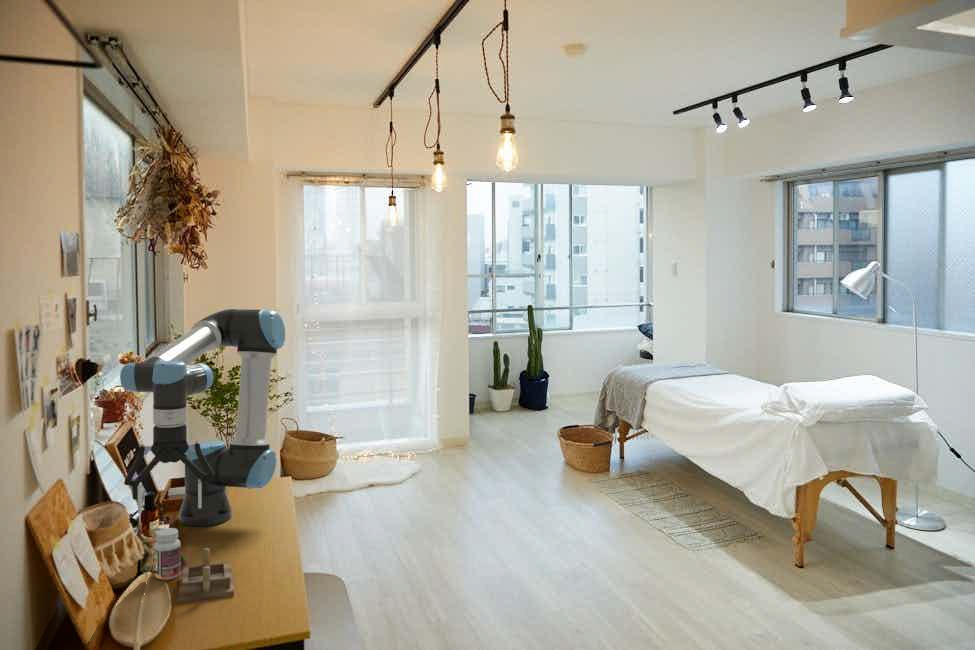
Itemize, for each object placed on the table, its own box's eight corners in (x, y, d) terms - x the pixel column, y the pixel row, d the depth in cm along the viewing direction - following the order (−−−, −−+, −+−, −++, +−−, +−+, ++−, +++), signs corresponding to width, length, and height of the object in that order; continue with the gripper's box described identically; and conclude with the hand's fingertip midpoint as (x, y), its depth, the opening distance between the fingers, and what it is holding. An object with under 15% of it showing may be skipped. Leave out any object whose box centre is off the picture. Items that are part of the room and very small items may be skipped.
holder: (180, 578, 180) (180, 550, 179) (231, 572, 184) (231, 545, 184) (178, 603, 167) (178, 572, 166) (233, 596, 171) (233, 566, 170)
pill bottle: (186, 572, 184) (186, 528, 183) (169, 582, 178) (169, 536, 177) (165, 569, 185) (164, 525, 184) (148, 579, 179) (147, 534, 178)
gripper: (111, 430, 171) (112, 519, 172) (224, 424, 180) (224, 508, 181) (114, 424, 178) (115, 509, 179) (223, 419, 187) (223, 500, 188)
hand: (170, 509), depth 180 cm, fingers open, 13 cm apart
